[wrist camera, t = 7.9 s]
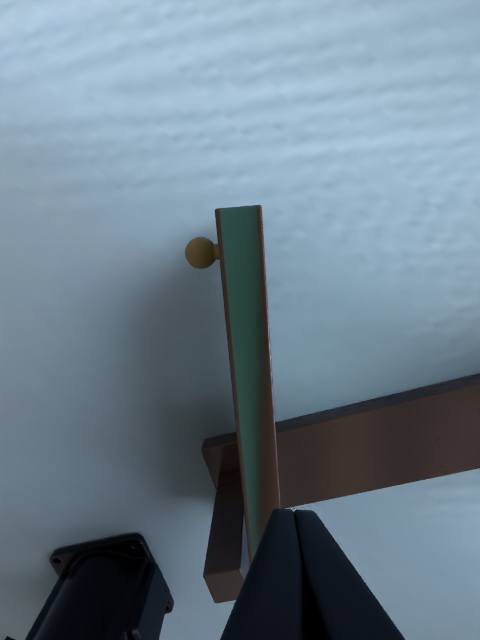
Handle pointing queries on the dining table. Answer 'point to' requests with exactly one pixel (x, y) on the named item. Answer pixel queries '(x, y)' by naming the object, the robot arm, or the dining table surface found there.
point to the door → (247, 356)
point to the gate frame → (343, 461)
